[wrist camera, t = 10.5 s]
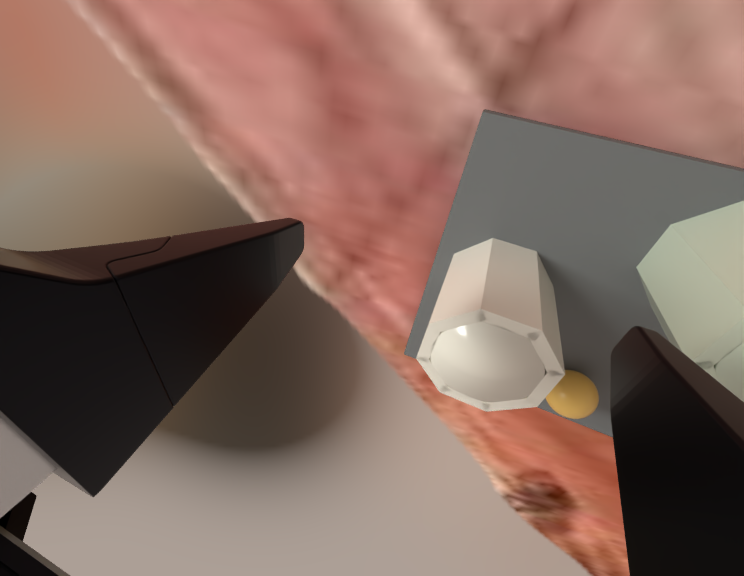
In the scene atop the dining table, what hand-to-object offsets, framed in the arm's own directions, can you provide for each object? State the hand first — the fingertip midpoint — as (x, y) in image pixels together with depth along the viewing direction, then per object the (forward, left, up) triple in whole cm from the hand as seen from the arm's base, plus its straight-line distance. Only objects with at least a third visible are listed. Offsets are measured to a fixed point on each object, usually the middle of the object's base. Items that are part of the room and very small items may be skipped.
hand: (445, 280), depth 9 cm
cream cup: (-3, +6, -11) cm, 13 cm away
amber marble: (-10, +11, -9) cm, 18 cm away
